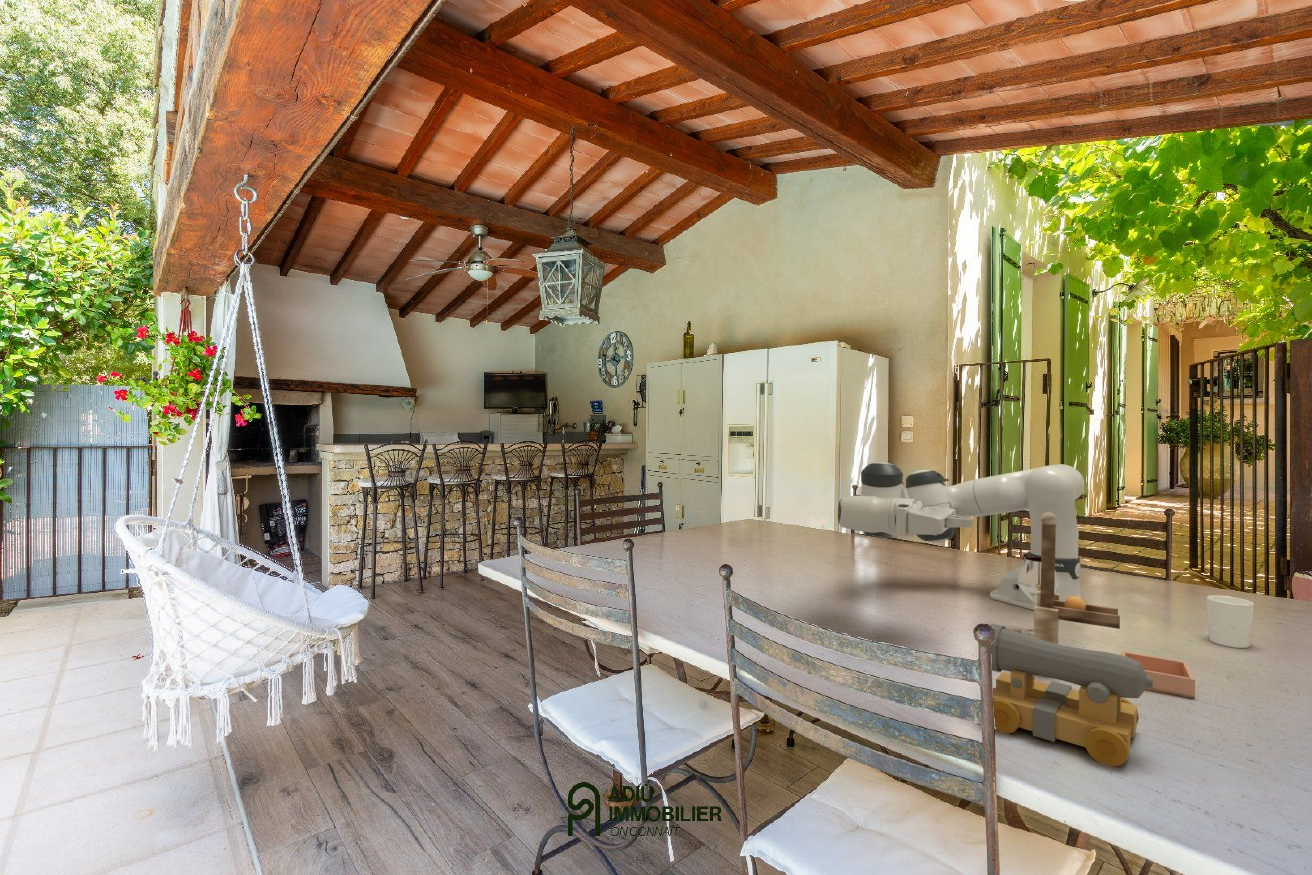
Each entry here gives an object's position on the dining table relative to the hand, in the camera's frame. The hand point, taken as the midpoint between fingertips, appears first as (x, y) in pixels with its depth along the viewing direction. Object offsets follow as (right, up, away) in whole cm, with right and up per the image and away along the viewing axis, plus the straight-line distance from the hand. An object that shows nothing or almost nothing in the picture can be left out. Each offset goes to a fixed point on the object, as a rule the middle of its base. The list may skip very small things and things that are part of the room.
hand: (972, 522), depth 136 cm
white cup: (+62, -29, +5) cm, 68 cm away
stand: (+12, -28, -7) cm, 31 cm away
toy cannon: (-4, -29, -36) cm, 47 cm away
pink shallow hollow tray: (+26, -28, -17) cm, 43 cm away
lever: (+16, -18, -11) cm, 27 cm away
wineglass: (+20, -28, +9) cm, 36 cm away
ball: (+16, -15, -10) cm, 24 cm away
